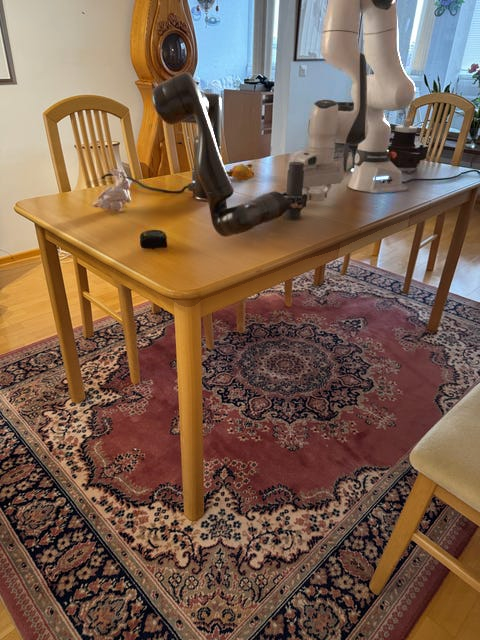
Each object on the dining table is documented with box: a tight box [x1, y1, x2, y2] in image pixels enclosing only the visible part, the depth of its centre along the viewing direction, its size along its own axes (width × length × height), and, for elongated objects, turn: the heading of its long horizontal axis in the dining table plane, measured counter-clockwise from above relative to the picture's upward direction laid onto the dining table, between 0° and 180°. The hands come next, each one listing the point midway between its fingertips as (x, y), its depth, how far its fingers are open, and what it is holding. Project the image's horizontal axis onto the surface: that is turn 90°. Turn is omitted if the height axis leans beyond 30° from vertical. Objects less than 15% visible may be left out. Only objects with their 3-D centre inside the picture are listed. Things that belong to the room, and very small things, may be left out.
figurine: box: [92, 167, 133, 213], centre depth 142 cm, size 8×15×13 cm, turn 145°
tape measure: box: [139, 229, 168, 250], centre depth 117 cm, size 7×7×4 cm
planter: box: [335, 101, 358, 172], centre depth 204 cm, size 20×20×26 cm
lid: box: [308, 189, 326, 202], centre depth 153 cm, size 6×6×2 cm
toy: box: [226, 163, 256, 182], centre depth 185 cm, size 11×6×15 cm
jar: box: [283, 161, 304, 221], centre depth 139 cm, size 5×5×16 cm
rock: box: [335, 147, 351, 154], centre depth 243 cm, size 13×9×6 cm, turn 131°
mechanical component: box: [388, 119, 430, 174], centre depth 205 cm, size 22×21×30 cm
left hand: (298, 195), depth 141 cm, fingers closed on jar, 5 cm apart
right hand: (315, 198), depth 153 cm, fingers closed on lid, 5 cm apart
